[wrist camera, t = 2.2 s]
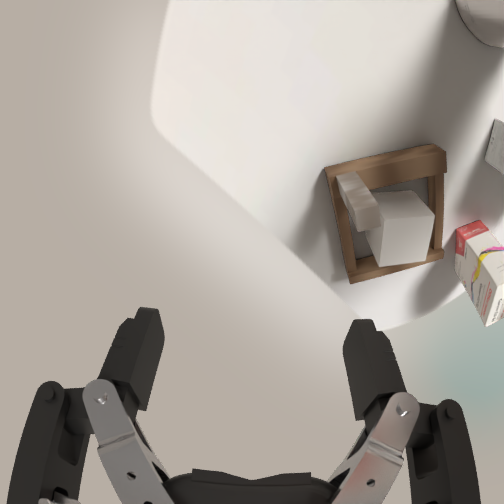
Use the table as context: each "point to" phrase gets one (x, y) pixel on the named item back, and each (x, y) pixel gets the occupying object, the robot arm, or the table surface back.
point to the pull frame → (367, 209)
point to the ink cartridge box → (481, 269)
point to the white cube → (401, 229)
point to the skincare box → (496, 147)
